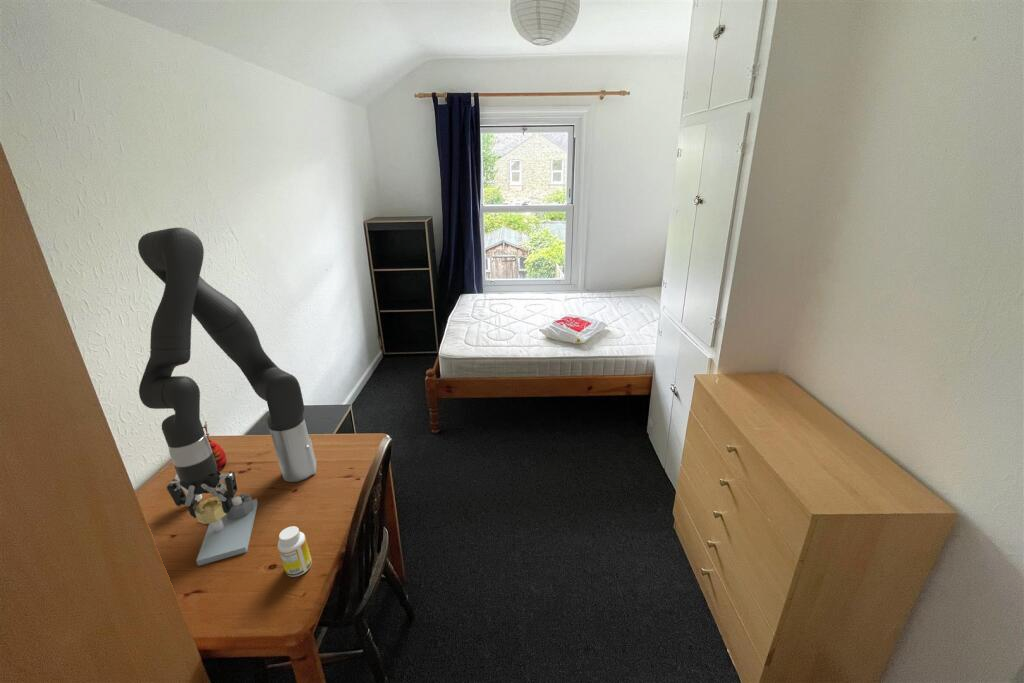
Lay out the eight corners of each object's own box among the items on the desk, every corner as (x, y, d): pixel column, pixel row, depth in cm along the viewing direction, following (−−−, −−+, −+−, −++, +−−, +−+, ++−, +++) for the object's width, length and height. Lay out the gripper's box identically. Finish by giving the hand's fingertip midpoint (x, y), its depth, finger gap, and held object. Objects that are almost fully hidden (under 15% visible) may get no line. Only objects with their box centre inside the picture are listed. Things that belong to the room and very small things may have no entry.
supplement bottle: (305, 553, 104) (295, 519, 100) (316, 565, 100) (307, 530, 97) (281, 569, 100) (270, 534, 96) (292, 582, 96) (281, 546, 93)
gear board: (257, 503, 121) (252, 486, 119) (246, 551, 105) (240, 534, 103) (215, 514, 117) (209, 497, 115) (198, 565, 102) (190, 547, 100)
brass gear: (230, 503, 112) (226, 493, 111) (225, 519, 107) (221, 509, 106) (202, 509, 110) (199, 500, 109) (196, 526, 105) (192, 516, 104)
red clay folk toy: (195, 475, 134) (179, 432, 128) (210, 460, 140) (196, 419, 135) (219, 474, 133) (205, 432, 128) (234, 460, 140) (220, 419, 135)
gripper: (232, 442, 107) (250, 498, 113) (166, 450, 104) (188, 507, 110) (219, 460, 100) (238, 519, 106) (148, 470, 98) (172, 529, 104)
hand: (213, 512), depth 108 cm, fingers closed on brass gear, 6 cm apart
